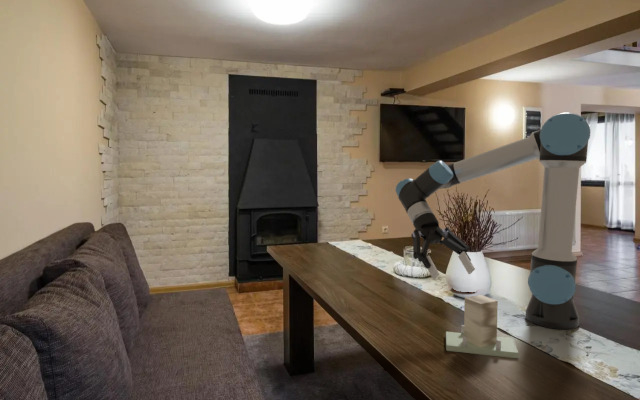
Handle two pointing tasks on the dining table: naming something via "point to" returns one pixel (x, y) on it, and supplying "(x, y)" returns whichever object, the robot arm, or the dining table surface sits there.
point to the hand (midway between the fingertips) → (454, 274)
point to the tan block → (480, 320)
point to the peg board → (501, 348)
